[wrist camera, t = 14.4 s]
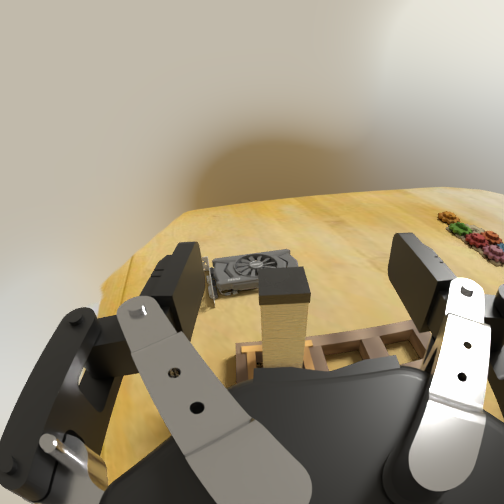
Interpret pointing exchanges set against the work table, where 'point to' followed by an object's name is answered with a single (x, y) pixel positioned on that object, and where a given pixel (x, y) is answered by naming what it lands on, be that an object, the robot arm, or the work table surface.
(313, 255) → the work table surface
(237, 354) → the rail
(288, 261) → the graphics card
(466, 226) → the gear puzzle
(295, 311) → the peg
